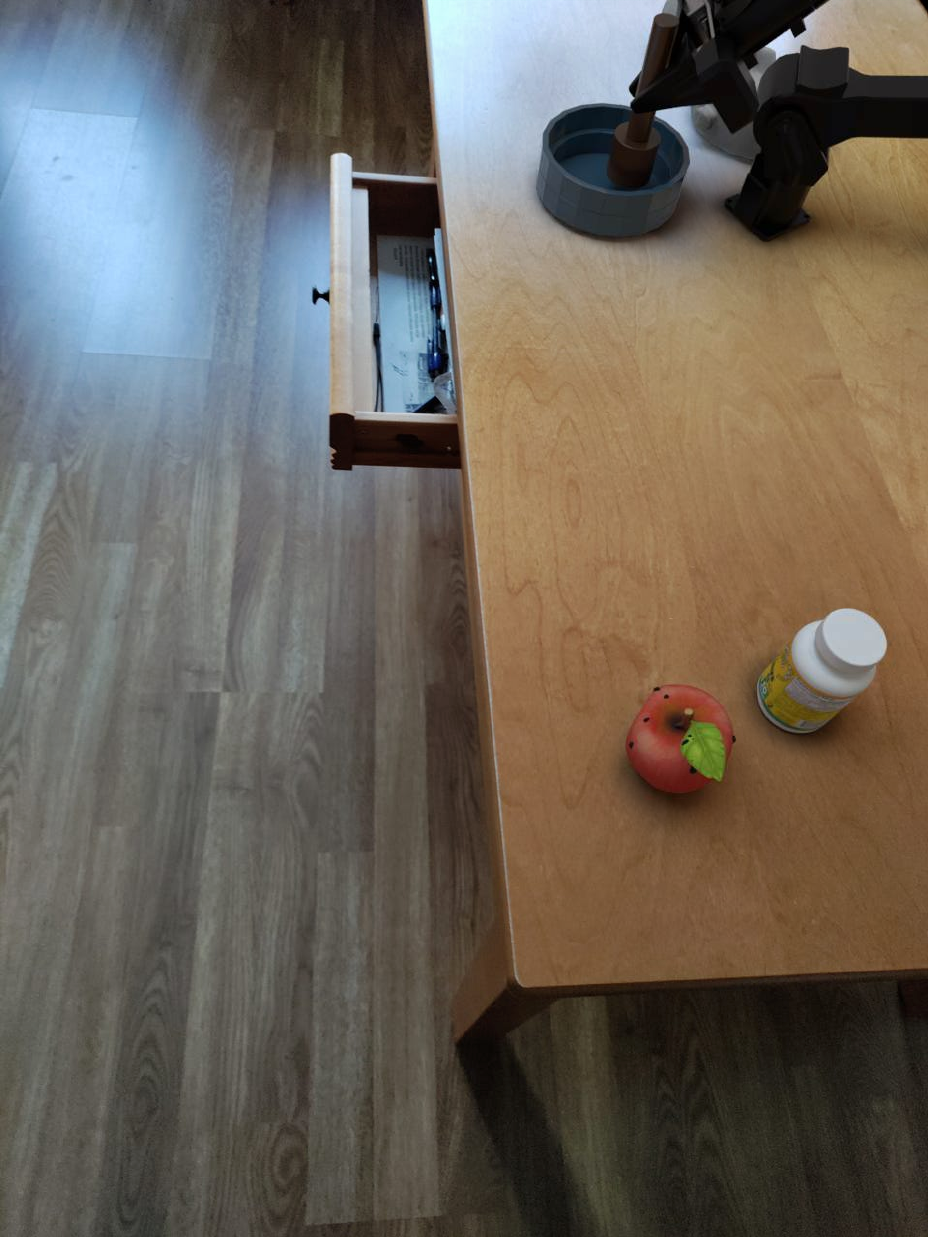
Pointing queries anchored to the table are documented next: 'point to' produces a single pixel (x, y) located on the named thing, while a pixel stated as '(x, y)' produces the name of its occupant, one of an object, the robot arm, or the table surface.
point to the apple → (680, 739)
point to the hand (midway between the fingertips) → (631, 100)
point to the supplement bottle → (821, 670)
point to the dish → (716, 129)
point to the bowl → (580, 180)
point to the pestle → (637, 136)
